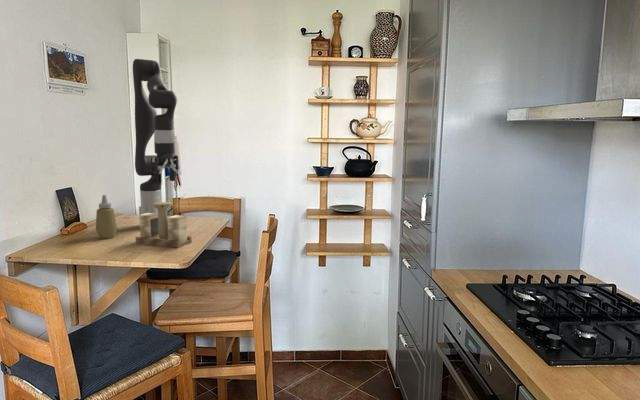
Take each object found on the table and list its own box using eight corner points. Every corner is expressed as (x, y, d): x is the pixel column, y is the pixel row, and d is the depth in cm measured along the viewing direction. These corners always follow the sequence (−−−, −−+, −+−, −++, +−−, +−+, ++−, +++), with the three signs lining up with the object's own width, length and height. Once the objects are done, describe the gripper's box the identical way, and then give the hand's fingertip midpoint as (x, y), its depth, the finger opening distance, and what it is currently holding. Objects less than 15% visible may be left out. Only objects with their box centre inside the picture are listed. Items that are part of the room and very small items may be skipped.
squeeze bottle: (121, 236, 186) (119, 194, 184) (105, 240, 179) (102, 197, 176) (108, 234, 190) (105, 193, 187) (91, 238, 183) (88, 195, 180)
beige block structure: (135, 242, 176) (134, 215, 174) (150, 237, 185) (149, 211, 183) (178, 247, 170) (177, 219, 168) (191, 242, 179) (190, 215, 177)
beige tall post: (172, 240, 176) (170, 203, 174) (155, 241, 174) (153, 204, 171) (172, 237, 181) (170, 201, 178) (155, 238, 178) (153, 202, 176)
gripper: (167, 140, 181) (169, 179, 184) (144, 141, 168) (145, 183, 171) (183, 141, 179) (184, 180, 182) (160, 142, 166) (162, 185, 169)
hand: (165, 182), depth 176 cm, fingers open, 8 cm apart
